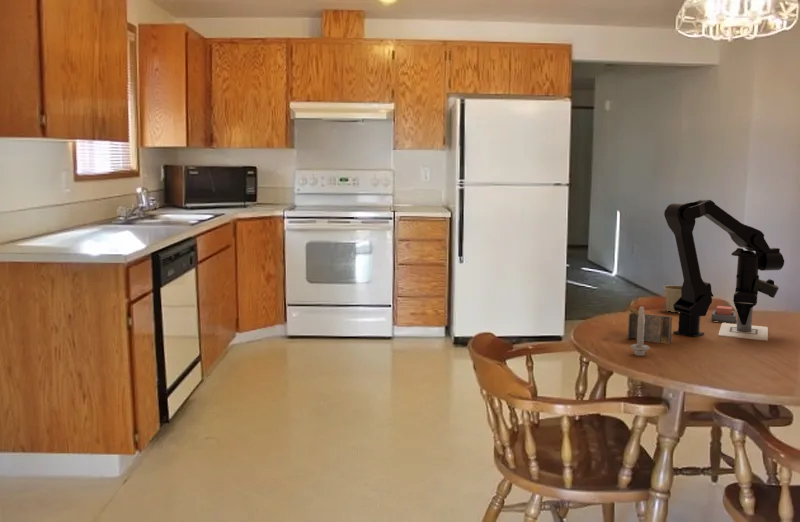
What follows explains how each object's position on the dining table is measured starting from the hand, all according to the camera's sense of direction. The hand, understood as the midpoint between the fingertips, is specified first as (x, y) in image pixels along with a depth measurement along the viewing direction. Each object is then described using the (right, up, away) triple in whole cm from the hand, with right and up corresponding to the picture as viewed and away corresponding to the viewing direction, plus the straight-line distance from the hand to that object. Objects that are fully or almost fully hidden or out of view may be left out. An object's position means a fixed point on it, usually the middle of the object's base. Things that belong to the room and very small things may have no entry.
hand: (744, 321), depth 213 cm
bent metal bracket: (-33, -5, -12) cm, 36 cm away
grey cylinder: (0, -3, 0) cm, 3 cm away
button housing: (+1, -1, +16) cm, 17 cm away
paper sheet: (0, -3, 0) cm, 3 cm away
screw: (-42, -6, -29) cm, 51 cm away
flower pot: (-8, 0, +32) cm, 33 cm away
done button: (+1, +1, +16) cm, 16 cm away
